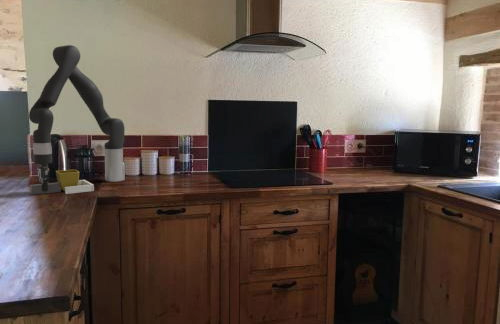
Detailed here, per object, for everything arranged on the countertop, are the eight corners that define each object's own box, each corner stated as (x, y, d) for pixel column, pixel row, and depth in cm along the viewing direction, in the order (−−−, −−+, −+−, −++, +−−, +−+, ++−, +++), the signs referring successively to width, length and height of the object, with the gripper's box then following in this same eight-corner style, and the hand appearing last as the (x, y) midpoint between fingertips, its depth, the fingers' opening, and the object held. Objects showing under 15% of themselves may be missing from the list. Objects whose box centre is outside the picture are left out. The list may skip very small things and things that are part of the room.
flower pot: (59, 192, 186) (59, 173, 185) (56, 189, 193) (55, 170, 192) (80, 190, 191) (79, 171, 190) (76, 187, 198) (75, 169, 197)
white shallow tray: (84, 185, 203) (84, 179, 203) (93, 190, 192) (93, 184, 191) (57, 188, 196) (57, 182, 195) (65, 193, 184) (65, 187, 184)
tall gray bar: (59, 190, 190) (58, 182, 190) (60, 191, 188) (60, 183, 188) (30, 193, 183) (30, 184, 183) (31, 194, 181) (31, 185, 180)
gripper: (55, 154, 180) (56, 192, 182) (48, 151, 191) (49, 187, 193) (36, 154, 175) (38, 194, 177) (30, 151, 186) (31, 188, 188)
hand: (44, 190), depth 185 cm, fingers closed on tall gray bar, 3 cm apart
